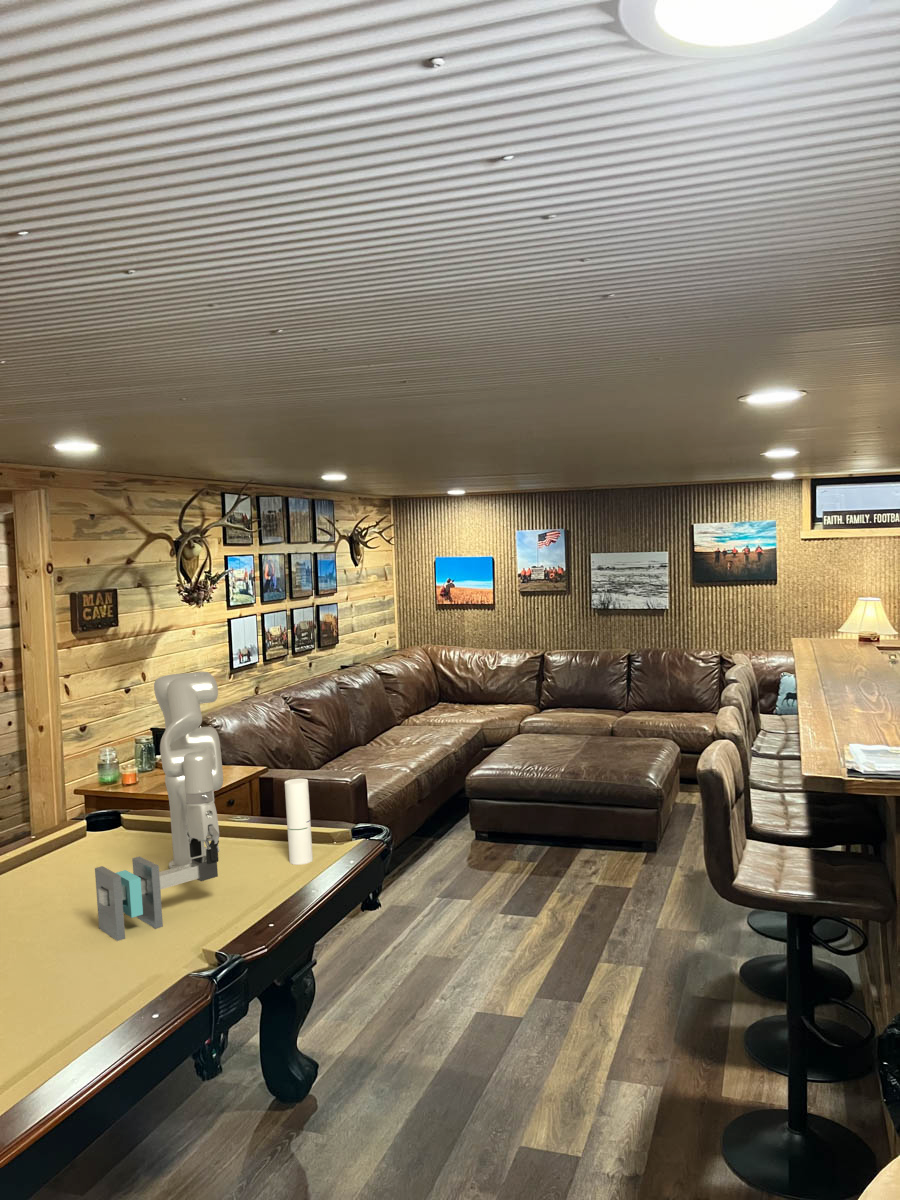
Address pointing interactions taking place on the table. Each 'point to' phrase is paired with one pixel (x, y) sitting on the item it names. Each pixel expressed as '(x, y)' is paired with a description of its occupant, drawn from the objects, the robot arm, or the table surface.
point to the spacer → (132, 894)
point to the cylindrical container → (298, 821)
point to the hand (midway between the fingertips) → (204, 859)
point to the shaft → (172, 877)
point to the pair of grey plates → (113, 913)
